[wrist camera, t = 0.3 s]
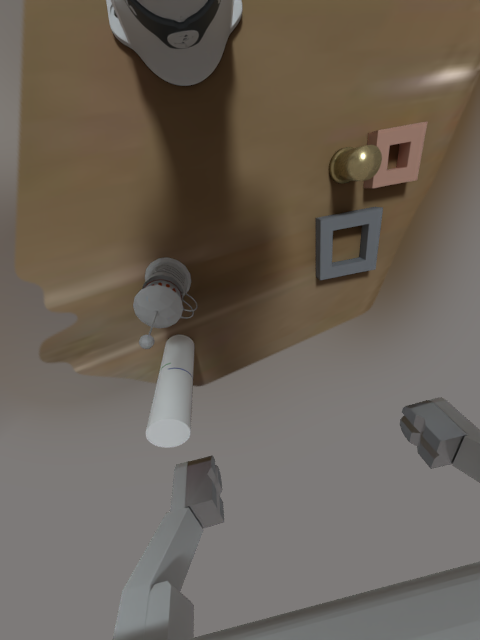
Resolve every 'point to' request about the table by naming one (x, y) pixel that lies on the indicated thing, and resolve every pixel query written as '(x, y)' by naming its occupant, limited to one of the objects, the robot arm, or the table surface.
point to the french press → (162, 296)
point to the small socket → (408, 154)
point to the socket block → (368, 246)
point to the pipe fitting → (355, 164)
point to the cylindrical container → (173, 395)
